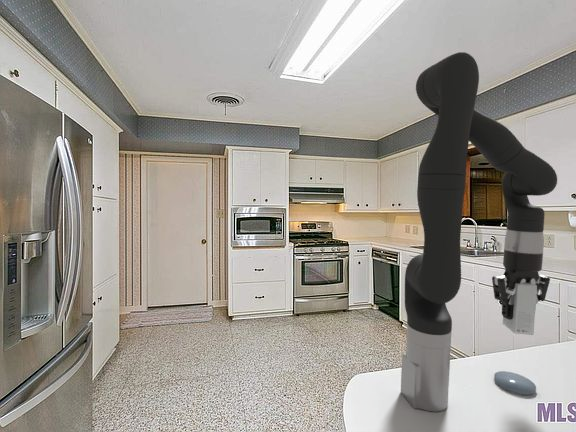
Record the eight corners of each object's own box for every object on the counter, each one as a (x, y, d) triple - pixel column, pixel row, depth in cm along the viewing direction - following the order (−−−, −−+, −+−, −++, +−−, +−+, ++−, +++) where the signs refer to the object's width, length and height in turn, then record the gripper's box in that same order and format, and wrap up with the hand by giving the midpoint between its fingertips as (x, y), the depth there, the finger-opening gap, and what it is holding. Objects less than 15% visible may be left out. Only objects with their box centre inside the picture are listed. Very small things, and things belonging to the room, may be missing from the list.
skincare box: (534, 335, 73) (538, 285, 72) (513, 333, 74) (517, 284, 73) (520, 325, 79) (523, 278, 78) (501, 323, 80) (504, 277, 79)
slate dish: (513, 397, 73) (513, 393, 73) (486, 376, 81) (486, 372, 81) (545, 394, 74) (545, 390, 74) (514, 373, 82) (515, 370, 82)
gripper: (509, 252, 70) (504, 325, 72) (564, 251, 72) (558, 322, 74) (484, 246, 78) (480, 313, 79) (534, 246, 80) (530, 310, 81)
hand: (518, 317), depth 76 cm, fingers closed on skincare box, 5 cm apart
